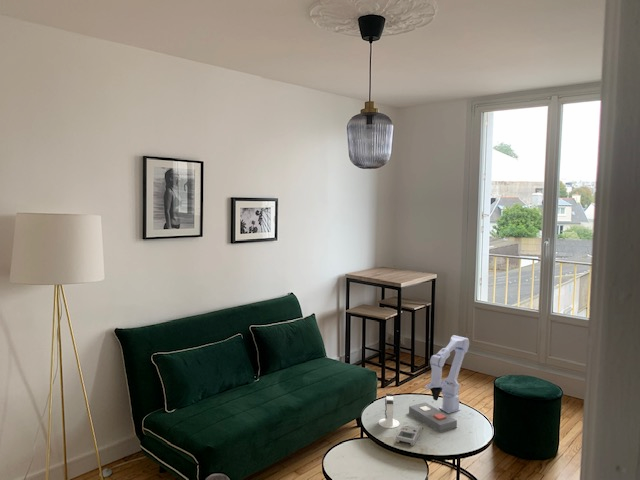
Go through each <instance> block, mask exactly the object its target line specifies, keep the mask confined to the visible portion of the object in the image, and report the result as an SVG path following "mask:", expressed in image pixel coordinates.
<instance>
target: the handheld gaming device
mask: <svg viewBox="0 0 640 480" xmlns="http://www.w3.org/2000/svg"><path fill="white" fill-rule="evenodd" d="M420 430H421V428H420V427H416V426H411V425H410V426H409V425H405V426H402V427H401V429H400V430H399V432H398V434H397V435H396V443H398V444H400V442H404V443H408V444H410V446H412V447H413V446H415V443H416V442H417V439H418V438H419V435H420Z"/></svg>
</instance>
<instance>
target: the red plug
mask: <svg viewBox="0 0 640 480" xmlns="http://www.w3.org/2000/svg"><path fill="white" fill-rule="evenodd" d="M433 417H434V418H436V419H438V420H443V419H446V416H444V415H442V414H441V413H439V414H435V415H433Z"/></svg>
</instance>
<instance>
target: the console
mask: <svg viewBox="0 0 640 480" xmlns="http://www.w3.org/2000/svg"><path fill="white" fill-rule="evenodd" d="M424 406H427V407H428V408H430V409H431V410H430V411H426V412H424V411H423V410H421V409H419V408H420V407H424ZM439 413H441V414H442V415H444V416H446V419H443V420H438V419H436V418H434V417H433V415H435V414H439ZM408 414H410V415H411V416H412V417H414V418H417V419H418V420H419V421H421V422H423V423H425V424H426V425H427V426H429V427H431V428H432V429H434V430H435V431H437V432H438V433H442V432H445V431H449V430H453V429H455V428H457V425H458V424H457V423H458V420H457V419H455V418H453V417H452V416H450V415H448V414H446V413H445V412H444V411H441V410H439V409H437V408H435V407H434V406H432V405H431V404H429V403H427V402H421V403H417V404H414V405H409V407H408Z"/></svg>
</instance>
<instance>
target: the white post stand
mask: <svg viewBox="0 0 640 480" xmlns="http://www.w3.org/2000/svg"><path fill="white" fill-rule="evenodd" d="M384 401H385V403H384V406H385V410H384V415H385V417H383V418H381V419H379V420H378V424H379V425H380V426H381V427H382V428H386V429H396V428H398V427H399V426H400V422H399V420H397V419H395V418H394V396H393V393H386V394H385V399H384Z"/></svg>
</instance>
